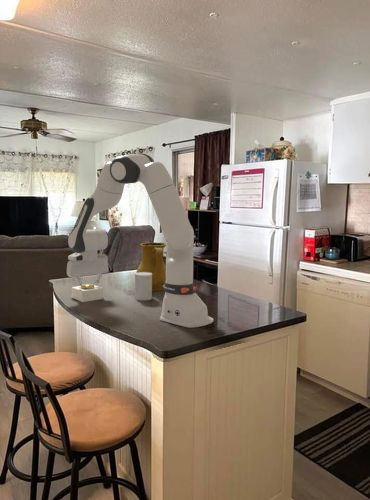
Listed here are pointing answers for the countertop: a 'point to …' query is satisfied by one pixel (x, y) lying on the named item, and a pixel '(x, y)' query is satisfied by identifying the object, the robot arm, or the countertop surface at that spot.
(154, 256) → the pitcher
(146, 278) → the white cylinder
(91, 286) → the brass dome knob
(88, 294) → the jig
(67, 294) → the countertop surface
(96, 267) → the robot arm
